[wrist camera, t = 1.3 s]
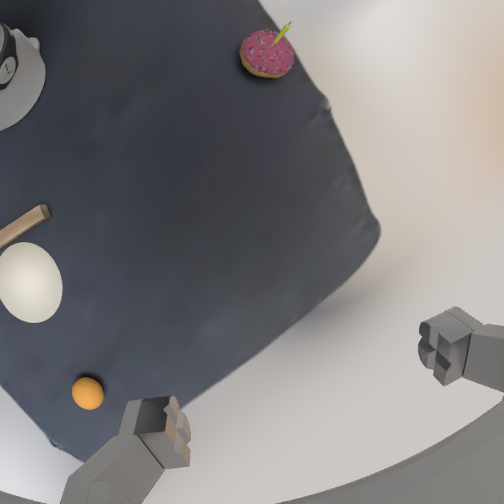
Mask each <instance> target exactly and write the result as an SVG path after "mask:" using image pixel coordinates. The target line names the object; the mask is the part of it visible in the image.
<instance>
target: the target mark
mask: <svg viewBox="0 0 504 504" xmlns="http://www.w3.org/2000/svg"><path fill="white" fill-rule="evenodd" d="M62 290H63V286H62V279H61V275H60V271H59V269H58V267H57V265H56V263H55V261H54V260H53V258H52V257H51V256H50V255H49V254H48V252H46V251H45V250H44V249H43V248H41V247H40V246H38V245H36V244H33V243H28V242H20V243H16V244H13V245H12V246H10V247H8V248H7V249H6V250H5V251H4V252H3V254H2V255H1V257H0V299H1V301H2V302H3V304H4V305H5V307H6V308H7V309H8V310H9V311H10V312H11V313H12V314H13V315H14V316H15V317H17V318H19V319H21V320H23V321H26V322H30V323H38V322H42V321H45V320H47V319H48V318H50V317H51V316H52V315H53V314H54V313H55V312H56V310H57V309H58V307H59V305H60V302H61V298H62Z"/></svg>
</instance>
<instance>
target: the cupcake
mask: <svg viewBox="0 0 504 504" xmlns="http://www.w3.org/2000/svg"><path fill="white" fill-rule="evenodd" d="M290 24H291V22H290V23H289V24H286V25H285V27H284V28H283V29H282V30H281V32H280V33H279V34H277V33H278V32H276V33H275V31H274V32H272V31H271V30H269V31H268V29H267V30H259V31H257V32H255V33H253V34H251V35H249V36H248V37H247V38H245V39H244V41H243V42H242V45H241V48H240V51H239V54H240V57H241V61H242V64H243V66H244V67H245V68H246V69H247V70H248V71H249V72H250V73H252V74H254V75H256V76H260V77H265V78H279V77H281V76H283V75H285V74H286V73H287V72H288V70H289V69H291V66H292V65H293V63H294V52H293V48H292V47H291V45H290V43H289V42H288V41H287V39H285V37H282V36H283V35H284V34H285V33H286V31H287V30H288V29H289V28H290Z"/></svg>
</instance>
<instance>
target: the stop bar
mask: <svg viewBox="0 0 504 504" xmlns="http://www.w3.org/2000/svg"><path fill="white" fill-rule="evenodd" d="M49 217H51V215H50V213H49V210H48V208H47V205H39V206H37V207H35V208H34V209H32V210H31V211H29V212H27V213H26V214H24V215H23V216H21V217H20V218H18V219H17V220H15V221H14V222H12V223H11V224H9V225H8V226H6V227H5V228H3V229H2V230H1V231H0V249H1V248H2V247H4V246H5V245H7V244H8V243H10V242H11V241H13V240H14V239H16V238H17V237H19V236H20V235H22V234H24V233H25V232H27V231H28V230H30V229H31V228H33V227H35V226H36V225H38V224H40V223H41V222H43V221H44V220H46V219H48V218H49Z"/></svg>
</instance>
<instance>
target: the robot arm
mask: <svg viewBox="0 0 504 504" xmlns="http://www.w3.org/2000/svg"><path fill="white" fill-rule="evenodd" d="M39 48H40V43H39V40H38V39H37V38H27V37H26V36H25V35H24V34H23V33H22V32H21V31H20V30H18V29H15V30H10V29H9V28H8V26H6V25H5V24H4V23H3V22H1V21H0V131H1V130H3V129H5V128H8V127H10V126H12V125H14V124H15V123H17V122H18V121H19V120H21V119H22V118H23V117H24V116H25V115H26V114H27V113H28V112H29V111H30V110H31V108H32V107H33V106H34V104H35V103H36V101H37V99H38V97H39V95H40V93H41V91H42V88H43V85H44V81H45V65H44V62H43V60H42V58H41V56H40V53H39ZM419 334H420V335H421V336H422V338H421V340H420V342H419V344H418V353H419V357H420V360H421V362H422V363H423V364H424V366H425V367H426V368H428V369H432V370H434V373H433V376H434V377H435V378H436V379H437V380H438V381H439V382H440V383H441V384H442V385H443V386H446V385H448V384H450V383H452V382H453V381H455V380H457V379H459V378H461V377H463V378H466V379H468V380H471V381H473V382H476V383H479V384H482V385H484V386H487V387H490V388H493V389H495V390H498V391H501V392H504V326H499V325H492V324H486V325H483V324H482V323H480V322H479V321H478V320H476V319H475V318H474V317H472V316H470V315H469V314H468V313H466V312H465V311H463V310H462V309H461V308H459V307H455V306H454V307H452V308H450V309H448V310H447V311H444V312H443V313H441V314H439V315H437V316H435V317H432V318H430V319H428V320H426V321H424V322H421V325H420V327H419ZM178 409H179V403H178V401H177V400H176V398H175V397H174V396H172V395H171V396H164V397H156V398H148V399H141V400H131V401H129V402H128V403H127V406H126V409H125V412H124V416H123V419H122V423H121V426H120V430H119V433H118V436H114V437H112V438H111V439H110V440H109V441H108V442H107V443H106V444H105V445H104V446H103V447H102V448H100V449H99V450H98V451H97V452H96V453H95V454H94V455H93V456H92V457H91V458H89V459H88V460H87V461H86V462H85V463H84V464H83V465H82V466H81V467H80V468H79V469H77V470H76V471H75V472H74V473H73V474H72V475H70V476H69V477H68V480H67V483H66V486H65V489H64V492H63V495H62V499H61V502H60V504H141V503H142V502H143V501H144V499H145V498H146V496H147V495H148V494H149V492H150V491H151V489H152V488H153V486H154V485H155V484H156V482H157V481H158V479H159V478H160V476H161V475H162V474H163V472H164V469H171V468H180V467H187V466H189V465H190V449H189V448H188V446H187V444H188V442H189V441H190V439H191V432H190V426H189V423H188V420H187V418H186V416H185V414H184V413H182V412H181V411H179V410H178ZM0 504H46V503H41V502H37V501H33V500H29V499H26V498H22V497H19V496H15V495H12V494H8V493H5V492H2V491H0ZM277 504H504V396H503V399H502V401H501V402H500V403H498V404H497V405H496V406H494V407H493V408H491V409H490V410H489V411H487V412H486V413H484V414H483V415H482V416H480V417H479V418H478V419H476V420H474V421H473V422H471V423H470V424H468V425H467V426H465V427H463V428H462V429H460V430H459V431H457V432H455V433H454V434H452V435H450V436H449V437H447V438H445V439H444V440H442V441H440V442H438V443H437V444H435V445H433V446H431V447H429V448H427V449H425V450H424V451H422V452H420V453H418V454H416V455H414V456H412V457H410V458H408V459H406V460H403V461H401V462H399V463H397V464H395V465H393V466H390V467H389V468H386V469H384V470H381V471H379V472H376V473H374V474H371V475H369V476H367V477H364V478H361V479H359V480H356V481H354V482H351V483H348V484H345V485H342V486H339V487H336V488H333V489H330V490H326V491H323V492H320V493H316V494H313V495H309V496H306V497H302V498H298V499H294V500H290V501H286V502H281V503H277Z"/></svg>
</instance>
